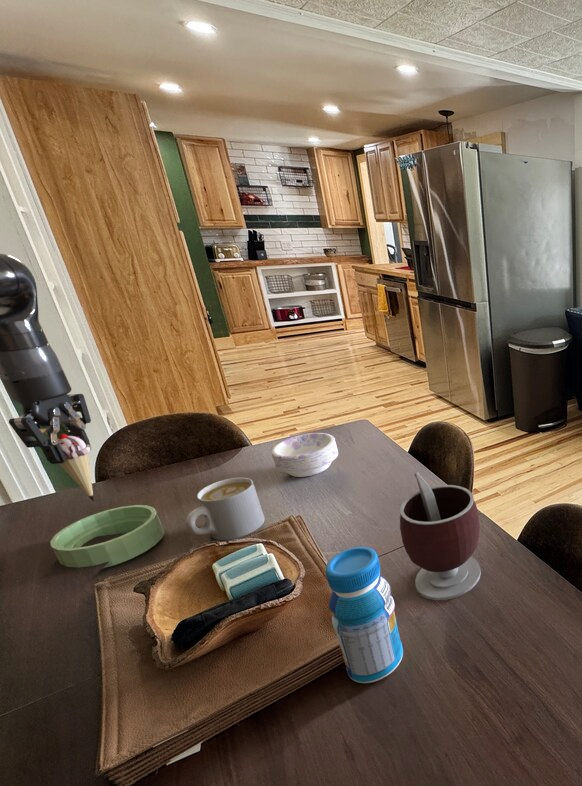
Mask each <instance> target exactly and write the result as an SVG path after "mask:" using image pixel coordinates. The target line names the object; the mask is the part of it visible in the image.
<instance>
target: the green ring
mask: <svg viewBox="0 0 582 786" xmlns="http://www.w3.org/2000/svg"><path fill="white" fill-rule="evenodd" d="M165 532H166V531H165V528H164V526H163V524H162V522H161V519H160V517H159V514H158V511H157V510H156V509H155V507H153V506H150V505H145V504H134V505H126V506H120V507H115V508H110V509H107V510H103V511H100V512H97V513H94V514H91V515H88V516H86V517H83V518H81V519H79V520H76V521H75V522H73V523H71V524H68V525H67V526H66V527H64V528H62V529H61V530H59V531H58V532H57V533H56V534H54V535H53V537H52V539H51V540H50V542H49V543H50V547H51V549H52V551H53V553H54V556H55V557H56V559H57V560H58V563H59V564H60V565H62V566H63V567H67V568H86V567H94V566H98V565H102V564H105V563H106V564H105V565H104V566H103V567H102V569H105V568H110V567H113V566H117V565H120V564H122V563H125V562H127V561H130V560H132V559H134V558H137V557H138V556H140V555H142V554H144V553H145V552H147V551H149V550H150V549H151V548H153V547H154V546H156V545H157V544H158V543H159V542H160V541H161V540H162V539H163V538H164V535H165ZM120 534H122V535H120ZM112 535H120V536H118V537H115V538H112V539H110V540H107V541H104V542H100V543H96V544H92V545H88V546H87V545H86V546H83V545H85V544H86V543H88V542H89V541H91V540H93V539H95V538H98V537H103V536H112Z"/></svg>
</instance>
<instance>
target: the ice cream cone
mask: <svg viewBox="0 0 582 786" xmlns="http://www.w3.org/2000/svg"><path fill="white" fill-rule="evenodd" d="M57 444H60V447H61V449H62V451H63V453H64V455H65V457H66V459H67V460H66V461H65V462H64V463H59V465H60V466H61V468H62V469H63V470H64V471H65V472H66V473H67V474H68V475H69V476H70V477H71V479H72V480H73V481H75V483H76V484H77V486H78V487H79V488H81V490H82V491H83V492H84V493H85V494H86V495H87V496H88V497H89V499H90V500H91V501H92V502H95V498H94V491H93V490H94V489H93V482H92V475H91V465H90V459H89V453H90V452H91V450H92V446H90V445H91V444H90V445H88V444H85V442H84V441H83V440H82V439H80V438H79V437H78V436H76V437H75V436H69V435H67V434H65V433H60V434H59V436H57Z"/></svg>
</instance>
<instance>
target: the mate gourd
mask: <svg viewBox="0 0 582 786" xmlns="http://www.w3.org/2000/svg"><path fill="white" fill-rule="evenodd" d="M413 476H414V477H415V478H416V479H415V480H416V482H417V486H418V489H419V490H418V491H415V492H414V493H412V494H410V495H409V496H408V497H407V498H405V500H403V502H402V504H401V505H400V508H399V512H400V513H399V530H400V537H401V541H402V545H403V547H404V550H405V552H406V555H407V556H408V557H409V559H410V561H411V562H412V564H414V565H416V566H417V567H419V568H421V569H420V570H419V571H418V573H416V577H415V581H414V582H415V583H414V584H415V589H416V591H417V593H418V594H419V595H420V596H421V597H423V598H425V599H427V600H431V601H447V600H453V599H455V598H458V597H460V596H463V595H465V594H466V593H468V592H470V591H471V590H472V589H473V588H475V586H476V585H477V584H478V583H479V581H480V579H481V575H482V573H481V572H482V571H481V566H480V565H481V564H480V563H479V562H478V560H477V559H475V558H474V557H472V555H473V554H474V552H475V551H476V549H477V548H478V545H479V539H480V531H481V529H480V528H481V526H480V525H481V524H480V516H479V514H480V513H479V510H478V506H477V504H476V501H475V499H474V498H475V497H474V495H473V492H472V491H471V490H469V489H468V488H467V487H464V486H460V485H454V484H441V485H435V486H430V485H429V484H428V483H427V481H426V480H425V479H424V478H423V477H422V476H421V475H420V473H419V472H418V471H416V472H415V473H414V474H413Z"/></svg>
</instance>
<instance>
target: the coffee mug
mask: <svg viewBox="0 0 582 786" xmlns="http://www.w3.org/2000/svg"><path fill="white" fill-rule="evenodd" d="M196 499H197V501H198V504H199V507H196V508H195V509H193V510H192V511H190V512H189V513H188V514H187V515H186V518H185V524H186V528H187V529H188V531H189V532H190V533H191V534H193V535H195V536H204V535H211V537H212V538H213V539H214V540H217V541H230V540H234V539H239V538H242V537H244V536H247V535H250V534H252V533H254V532H255V531H257V530H258V529H259V528H261V527H262V526H263V524H264V523H265V521H266V519H265V518H266V517H265V515H264V512H263V509H262V506H261V503H260V499H259V496H258V494H257V490H256V487H255V484H254V481H253V480H252V479H251V478H248V477H232V478H226V479H222V480H219V481H216V482H213V483H211V484H208V485H207V486H204V487H203V488H202V489H201V490H199V491H198V493H197V494H196ZM200 516H203V517H204V519H205V522H204V524H203V526H202V527H198V526H197V519H198V518H199V517H200Z"/></svg>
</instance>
